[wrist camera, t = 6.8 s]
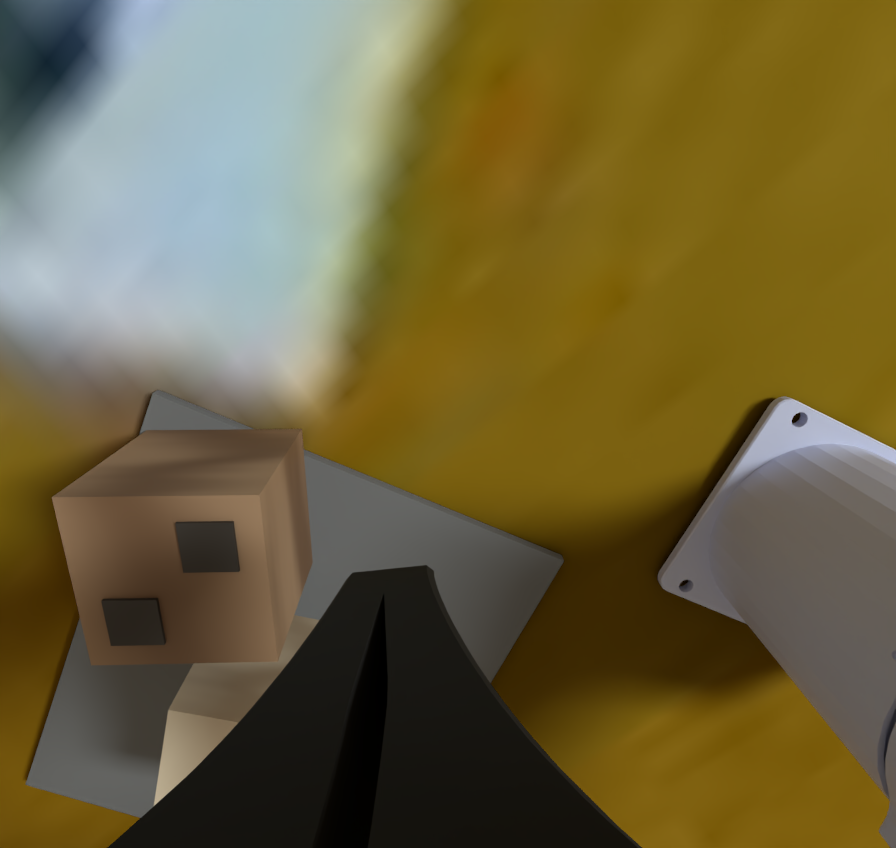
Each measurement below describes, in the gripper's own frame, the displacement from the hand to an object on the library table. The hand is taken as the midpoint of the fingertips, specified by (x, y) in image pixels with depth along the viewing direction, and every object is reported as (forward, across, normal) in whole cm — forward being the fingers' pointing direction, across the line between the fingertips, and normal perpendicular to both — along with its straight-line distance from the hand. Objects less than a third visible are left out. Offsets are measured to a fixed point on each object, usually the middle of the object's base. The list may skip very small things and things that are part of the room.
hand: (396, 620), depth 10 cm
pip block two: (+10, +6, +2) cm, 12 cm away
